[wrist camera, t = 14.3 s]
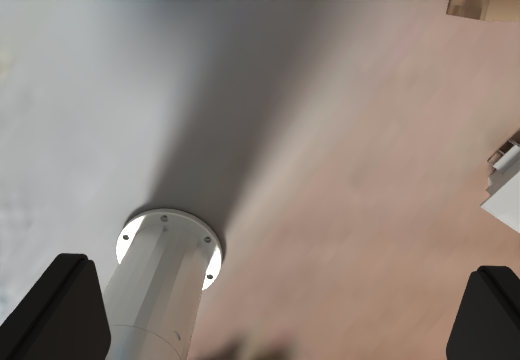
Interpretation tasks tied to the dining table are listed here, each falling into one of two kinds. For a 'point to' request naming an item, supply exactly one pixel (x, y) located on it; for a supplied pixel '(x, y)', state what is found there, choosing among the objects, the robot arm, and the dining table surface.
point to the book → (505, 188)
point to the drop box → (485, 9)
